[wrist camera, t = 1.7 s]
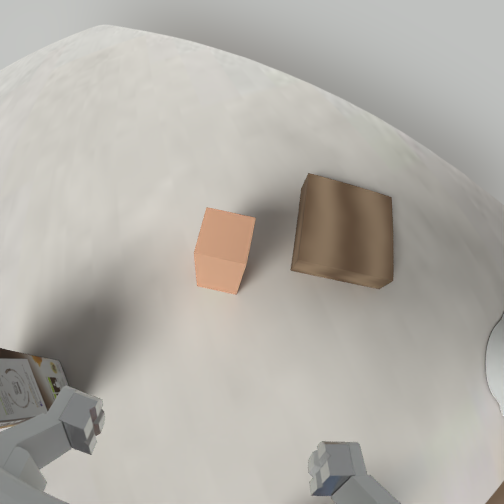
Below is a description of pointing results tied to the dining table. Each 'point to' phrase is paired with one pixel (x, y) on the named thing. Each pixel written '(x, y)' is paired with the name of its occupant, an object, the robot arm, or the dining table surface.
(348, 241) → the base block
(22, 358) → the coffee box
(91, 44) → the dining table surface
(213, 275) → the pillar block
